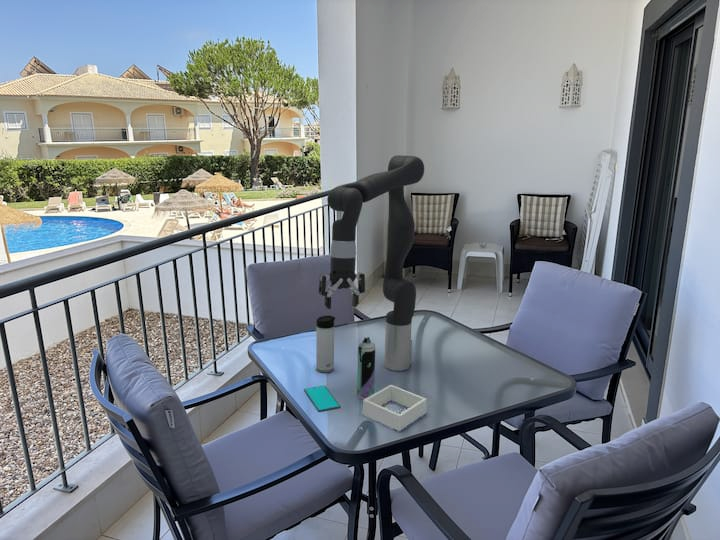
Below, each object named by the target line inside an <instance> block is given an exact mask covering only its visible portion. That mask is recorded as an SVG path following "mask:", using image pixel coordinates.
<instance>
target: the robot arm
mask: <svg viewBox="0 0 720 540" xmlns="http://www.w3.org/2000/svg"><path fill="white" fill-rule="evenodd" d="M424 174H425V164H424V161H423V160H422V159H421V158H420V157H418V156H416V155H415V156H414V155H398V154H397V155H393V156H391V158H390V160H389V162H388V166H387V171H386V170H385V171H381V172H377V173H373V174H369V175H366V176H365V177H362V178H360V179H358V180H356V181H354V182H348V183H345V184H340V185H338V186H335V187H334V188H331V190H330V191H329V193H328V194H327V198H326V199H327V200H326V203H327V204H328V206H329V208H330V209H332V210H333V211H336V212H343V213H342V217H341V218H340V219H337V220H334V221H333V222H332V225H331V226H332V227H331V229H332V230H331V244H330V268H329V269H330V273H329V274H328V275H325V274H322V273H321V274H320V275H319V282H318V294H319V295H321V296H323V297H324V306H325V308H326V309H327V310H331V309H332V297H331V296H332V295H333V294H334V292H336V291H337V289H338V290H342V289H346V290H347V289H350V291H351V292H352V296H351V297H352V299H351V301H352V302H351V305H352V307H354V308H357V307H358V306H359V303H360V302H359V301H360V298H359V297H360V294H365V292H366V280H365V279H366V275H365V274H364V273H362V272H360V271H359V272H358V273H356V259H357V245H356V236H357V233H356V232H357V231H356V229H357V225H358V222H359V218H360V215H361V212H362V208H363V204H364V203H367V202H370V201H372V200H374V199H376V198H377V197H380V196H382V195H383V194H386V193H388V217H387V219H388V220H387V237H386V238H387V239H386V242H387V243H386V244H387V245H386V260H385V261H386V262H385V269H384V276H383V282H382V293H383V296H384V298H385V299H386V300H388V301H390V302H391V303H393V310H391V311H388V312H387V313H386V315H385V335H384V336H385V338H384V339H385V341H384V343H385V344H384V367H385V368H386V369H388V370H391V371H394V372H400V371H401V372H403V371H405V370H409V368H410V366H411V364H412V348H413V347H412V345H413V341H412V321H413V317H414V315H415V310H416V309H415V307H416V301H417V290H416V285H415V283H414V282H413V281H411V280H409V279H406V278H404V277H403V276H404V275H403V274H404V273H403V272H404V263H405V260H406V258H407V256H408V254H409V252H410V250H411V248H412V246H413V244H414V240H415V239H414V238H415V225H416V224H415V219H414V216H413V214H412V212H411V210H410V208H409V206H408V204H407V201H406V198H405V187H407V186H409V185H415V184H418V183H419V182H420V181H421V180H422V178H423V177H424ZM355 280H357V286H356V285H355V283H354V282H355ZM328 281H330V283H329V284H328V285H327V283H328ZM357 287H358V288H357Z"/></svg>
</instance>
